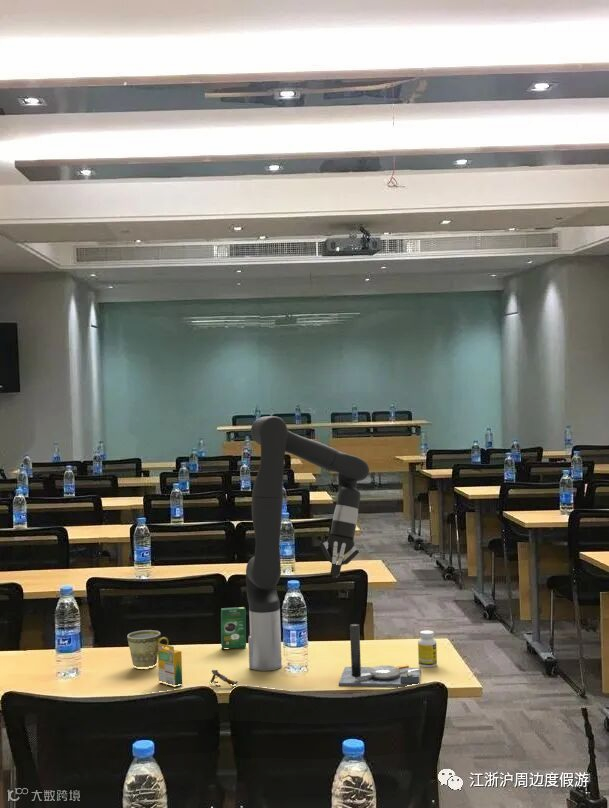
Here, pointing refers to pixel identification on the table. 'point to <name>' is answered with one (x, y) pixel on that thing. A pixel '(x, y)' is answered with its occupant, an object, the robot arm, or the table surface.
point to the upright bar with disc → (373, 672)
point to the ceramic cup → (144, 647)
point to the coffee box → (233, 627)
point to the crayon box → (169, 665)
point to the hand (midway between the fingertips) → (334, 576)
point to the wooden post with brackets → (221, 678)
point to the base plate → (405, 678)
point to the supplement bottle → (427, 649)
